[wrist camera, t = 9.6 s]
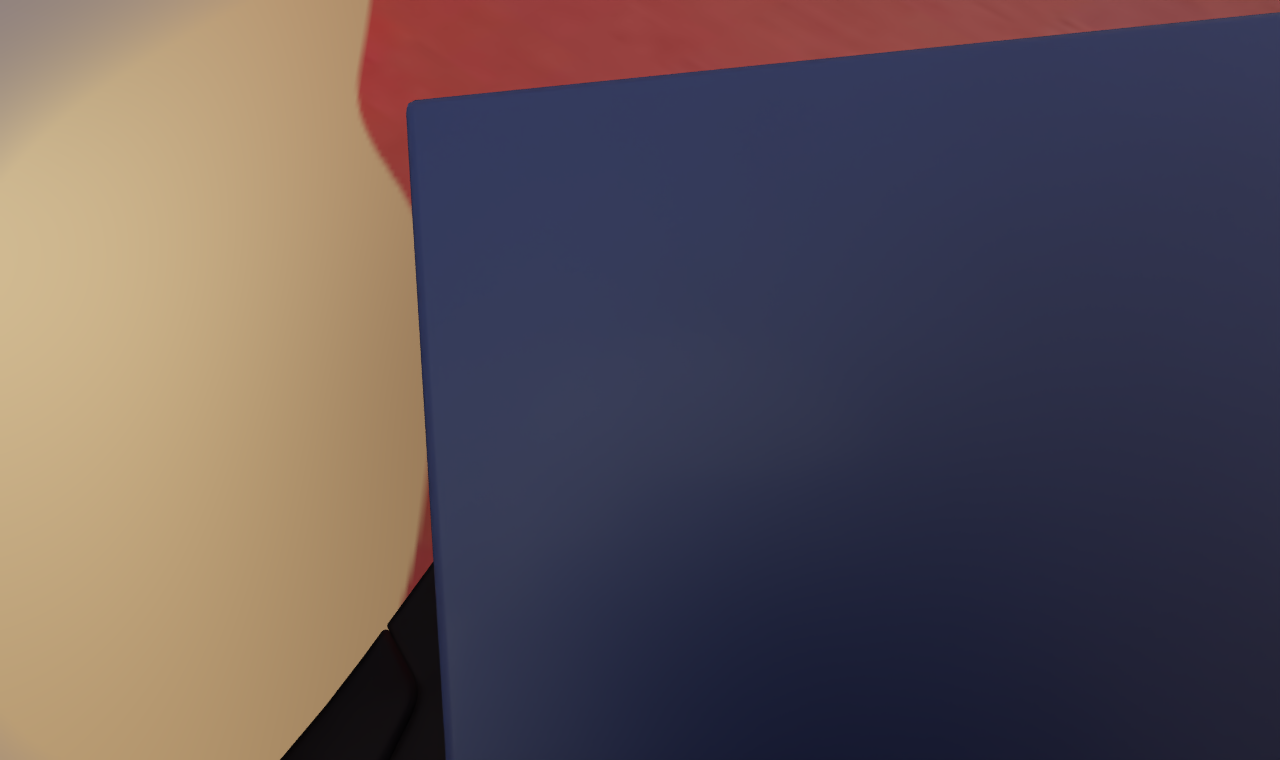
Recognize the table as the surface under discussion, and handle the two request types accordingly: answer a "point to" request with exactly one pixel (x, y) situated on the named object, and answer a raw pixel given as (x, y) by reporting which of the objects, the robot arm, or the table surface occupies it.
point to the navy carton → (861, 405)
